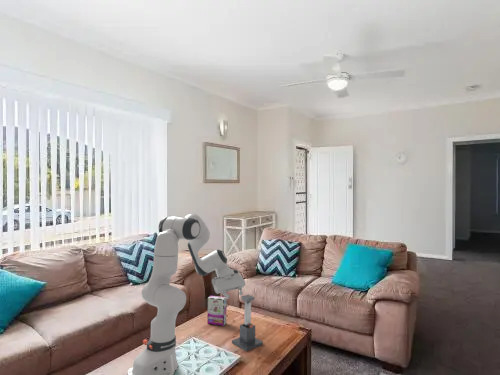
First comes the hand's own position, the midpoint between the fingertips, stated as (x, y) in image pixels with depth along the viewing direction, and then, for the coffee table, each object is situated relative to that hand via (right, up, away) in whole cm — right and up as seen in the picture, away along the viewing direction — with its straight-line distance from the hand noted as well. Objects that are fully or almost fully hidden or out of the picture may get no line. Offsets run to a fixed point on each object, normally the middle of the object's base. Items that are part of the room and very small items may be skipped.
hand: (235, 296), depth 185 cm
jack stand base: (+7, -23, -9) cm, 25 cm away
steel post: (+7, -21, -9) cm, 24 cm away
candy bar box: (-12, -23, +17) cm, 31 cm away
